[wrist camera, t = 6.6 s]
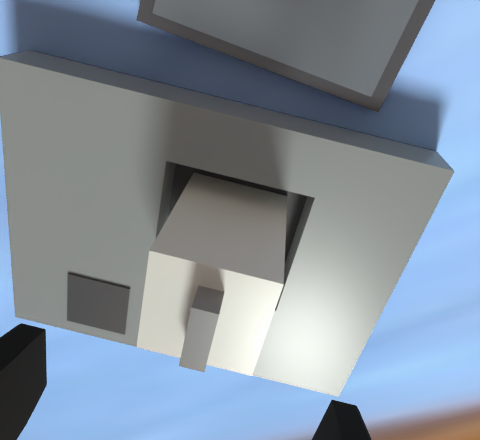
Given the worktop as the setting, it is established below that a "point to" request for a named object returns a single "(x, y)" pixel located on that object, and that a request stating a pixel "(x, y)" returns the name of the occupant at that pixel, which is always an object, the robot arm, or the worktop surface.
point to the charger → (215, 276)
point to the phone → (304, 38)
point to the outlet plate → (170, 189)
